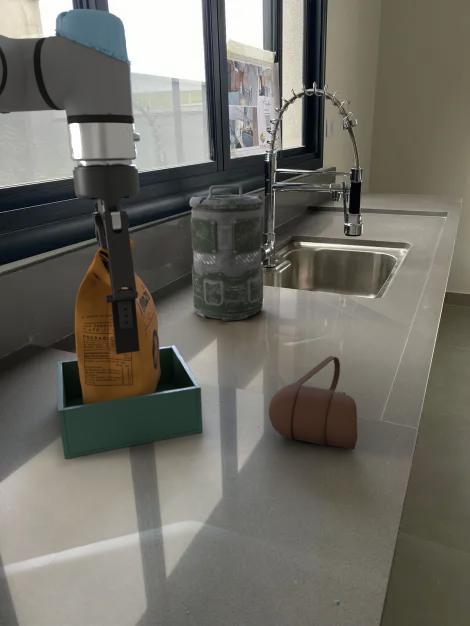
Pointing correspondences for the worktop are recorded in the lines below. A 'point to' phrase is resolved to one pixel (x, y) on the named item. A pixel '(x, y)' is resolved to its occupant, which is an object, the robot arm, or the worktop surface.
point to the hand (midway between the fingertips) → (121, 333)
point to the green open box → (129, 410)
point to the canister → (227, 254)
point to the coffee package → (113, 340)
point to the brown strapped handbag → (315, 412)
